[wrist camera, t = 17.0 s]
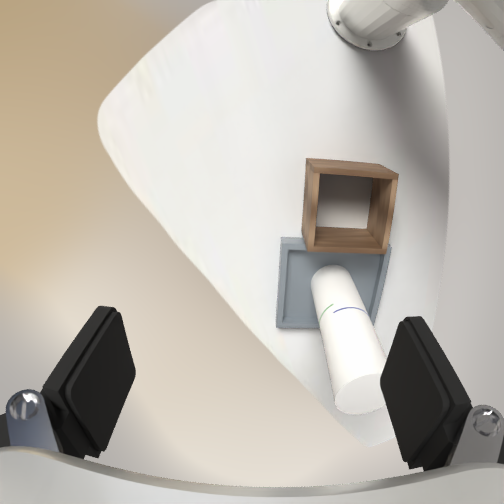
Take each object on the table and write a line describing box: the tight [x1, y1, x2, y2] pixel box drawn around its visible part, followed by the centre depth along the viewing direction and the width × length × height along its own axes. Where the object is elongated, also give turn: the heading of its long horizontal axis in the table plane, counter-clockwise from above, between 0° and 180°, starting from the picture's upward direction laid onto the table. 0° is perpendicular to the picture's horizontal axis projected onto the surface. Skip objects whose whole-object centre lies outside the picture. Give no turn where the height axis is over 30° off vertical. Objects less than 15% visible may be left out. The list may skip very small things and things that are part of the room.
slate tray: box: [276, 237, 392, 328], centre depth 54 cm, size 16×18×2 cm
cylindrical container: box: [311, 265, 387, 415], centre depth 43 cm, size 7×7×25 cm
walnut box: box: [302, 158, 399, 254], centre depth 45 cm, size 12×12×8 cm
